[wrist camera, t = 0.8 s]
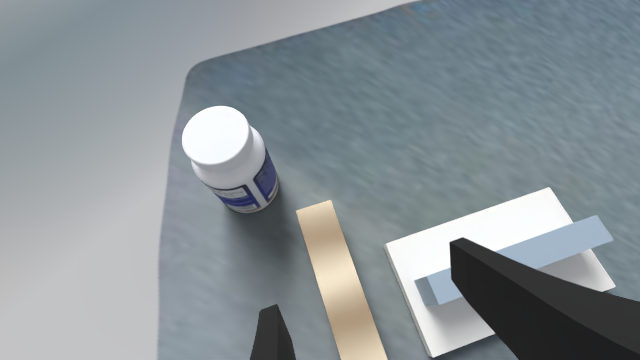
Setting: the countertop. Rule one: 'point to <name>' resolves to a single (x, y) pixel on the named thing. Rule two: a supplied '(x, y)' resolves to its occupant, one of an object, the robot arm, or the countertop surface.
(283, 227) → the countertop surface
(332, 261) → the beam
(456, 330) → the ridge stand
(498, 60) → the countertop surface
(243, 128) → the pill bottle
